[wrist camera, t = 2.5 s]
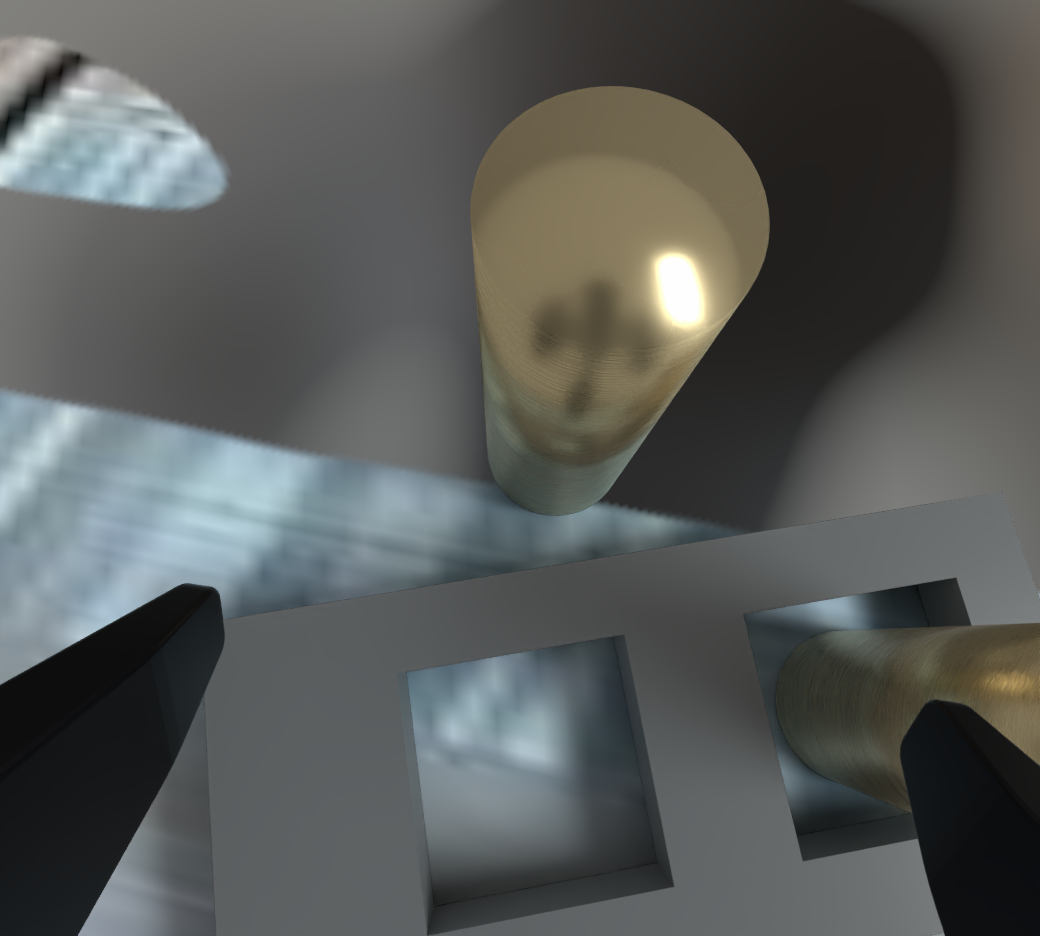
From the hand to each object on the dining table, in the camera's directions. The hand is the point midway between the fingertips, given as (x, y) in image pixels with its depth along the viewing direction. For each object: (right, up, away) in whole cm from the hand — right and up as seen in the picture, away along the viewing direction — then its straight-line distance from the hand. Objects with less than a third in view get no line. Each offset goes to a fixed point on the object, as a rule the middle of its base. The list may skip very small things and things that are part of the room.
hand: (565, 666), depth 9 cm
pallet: (+3, -6, +12) cm, 14 cm away
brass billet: (+1, +3, +14) cm, 15 cm away
